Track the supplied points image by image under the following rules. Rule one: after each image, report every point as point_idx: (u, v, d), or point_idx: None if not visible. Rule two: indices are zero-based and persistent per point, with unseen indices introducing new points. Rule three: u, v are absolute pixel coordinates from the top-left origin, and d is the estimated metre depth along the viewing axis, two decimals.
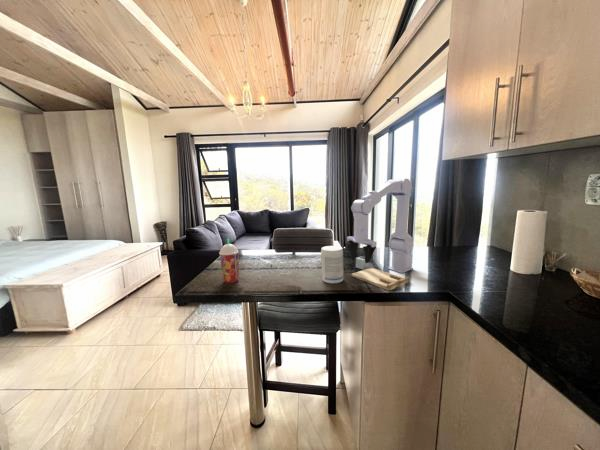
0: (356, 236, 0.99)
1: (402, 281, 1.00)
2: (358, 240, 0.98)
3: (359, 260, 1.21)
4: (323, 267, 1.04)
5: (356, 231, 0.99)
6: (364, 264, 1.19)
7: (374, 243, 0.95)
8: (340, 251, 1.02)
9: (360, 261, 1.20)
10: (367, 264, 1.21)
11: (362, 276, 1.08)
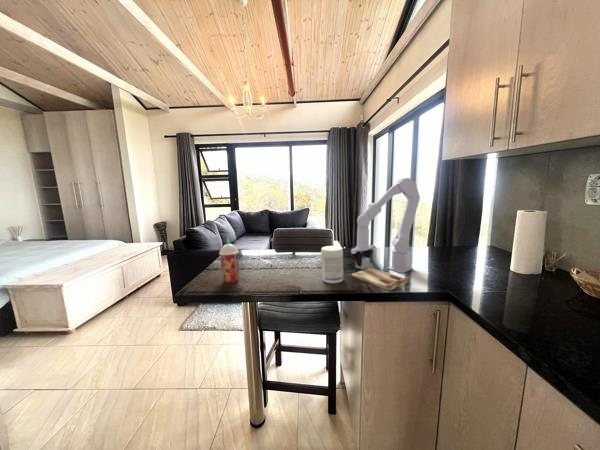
0: None
1: (402, 281, 1.00)
2: (357, 246, 1.23)
3: None
4: (323, 267, 1.04)
5: None
6: (364, 264, 1.19)
7: (352, 250, 1.17)
8: (340, 251, 1.02)
9: None
10: (367, 264, 1.21)
11: (362, 276, 1.08)
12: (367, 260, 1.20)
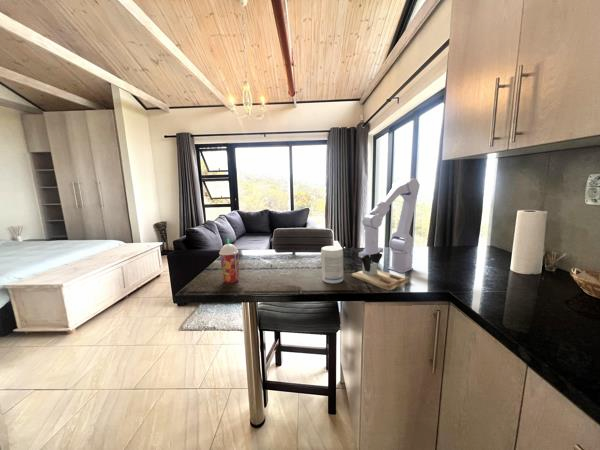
0: None
1: (402, 281, 1.00)
2: (364, 249, 1.11)
3: None
4: (323, 267, 1.04)
5: None
6: (371, 270, 1.08)
7: (359, 254, 1.05)
8: (340, 251, 1.02)
9: None
10: (375, 269, 1.09)
11: (362, 276, 1.08)
12: (375, 265, 1.09)
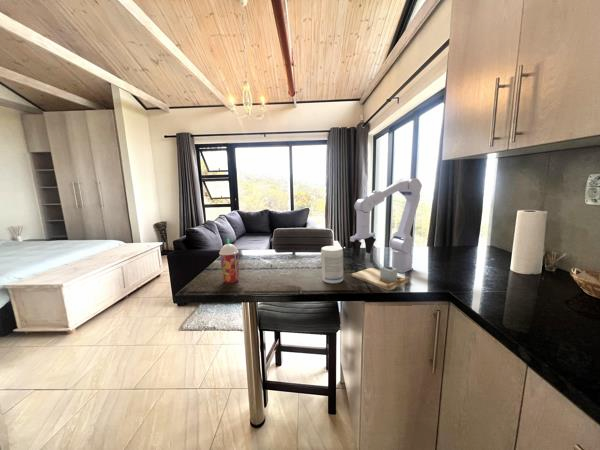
0: None
1: (402, 281, 1.00)
2: (356, 234, 1.11)
3: (385, 271, 1.01)
4: (323, 267, 1.04)
5: None
6: (391, 276, 1.00)
7: (351, 238, 1.06)
8: (340, 251, 1.02)
9: (386, 272, 1.01)
10: (395, 276, 1.01)
11: (362, 276, 1.08)
12: (395, 271, 1.01)
